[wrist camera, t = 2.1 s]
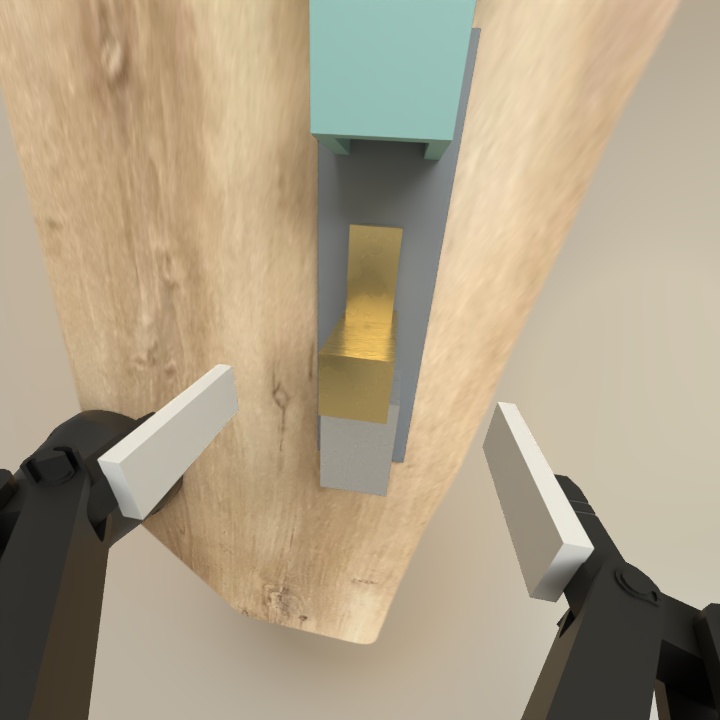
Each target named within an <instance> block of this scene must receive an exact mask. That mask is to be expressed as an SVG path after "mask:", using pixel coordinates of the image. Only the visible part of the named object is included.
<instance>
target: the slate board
mask: <svg viewBox="0 0 720 720" xmlns="http://www.w3.org/2000/svg"><path fill="white" fill-rule="evenodd" d="M480 31H481V28H471V34H470V40H469V46H468V52H467V58H466V64H465V70H464V75H463V81H462V87H461V93H460V99H459V105H458V111H457V117H456V123H455V129H454V135H453V140H452V142H451V143H450V145H449V146H448V148H447V149H446V151H445V153H444V154H443V156H442V157H441V159H440V160H430V159H424V153H425V146H426V143H422V142H403V141H384V140H364V139H350V155H343V154H334V153H333V152H332V151H330V150H329V149H328V148H327V147H326V146H325V145H324V144H322V143H321V142H320V141H319V140H318V355H319V352H320V350H321V348H322V347H323V345H324V344H325V342H326V340H327V339H328V337H329V335H330V334H331V332H332V331H333V329H334V327H335V326H336V324H337V322H338V321H339V319H340V317H341V316H342V314H343V313H344V311H345V309H346V297H347V276H348V254H349V232H350V225H351V224H356V223H359V224H372V225H385V226H398V227H403V231H402V239H401V248H400V256H399V264H398V272H397V281H396V289H395V297H394V306H393V311H398V318H397V335H396V351H395V365H394V371H397V372H400V408H399V415H398V421H397V428H396V434H395V440H394V447H393V453H392V460H391V461H395V462H402V463H403V460H404V455H405V449H406V443H407V438H408V432H409V427H410V421H411V416H412V410H413V404H414V399H415V393H416V388H417V382H418V377H419V371H420V365H421V360H422V354H423V349H424V343H425V338H426V332H427V326H428V321H429V315H430V310H431V304H432V299H433V293H434V287H435V282H436V276H437V271H438V265H439V260H440V254H441V248H442V243H443V237H444V232H445V226H446V221H447V215H448V209H449V204H450V198H451V193H452V187H453V182H454V176H455V170H456V165H457V159H458V154H459V148H460V143H461V137H462V132H463V126H464V120H465V115H466V109H467V104H468V98H469V93H470V87H471V81H472V76H473V70H474V65H475V59H476V54H477V48H478V42H479V37H480ZM320 430H321V415H318V450H320Z"/></svg>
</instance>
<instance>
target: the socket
mask: <svg viewBox="0 0 720 720" xmlns="http://www.w3.org/2000/svg"><path fill="white" fill-rule="evenodd" d="M475 4H476V0H309V11H310V133H311V134H312V135H313V136H314V137H316V138H317V139H318V140H319V141H320V142H321V143H322V144H324V145H325V146H326V147H327V148H328V149H329V150H330V151H332V152H333V153H334V154H343V155H350V139H364V140H384V141H403V142H422V143H426V146H425V153H424V159H430V160H440V159H441V157H442V156H443V154H444V153H445V151H446V149H447V148H448V146H449V145H450V143H451V142H452V140H453V135H454V129H455V123H456V117H457V111H458V105H459V99H460V93H461V87H462V81H463V75H464V70H465V64H466V58H467V52H468V46H469V40H470V34H471V28H472V22H473V16H474V10H475Z"/></svg>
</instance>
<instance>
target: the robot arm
mask: <svg viewBox="0 0 720 720" xmlns="http://www.w3.org/2000/svg"><path fill="white" fill-rule="evenodd" d="M238 410H239V407H238V401H237V394H236V387H235V381H234V374H233V367H232V366H229V365H222V364H218V365H216V366H215V367H214V368H213V369H211V370H210V371H209V372H208V373H206V374H205V375H204V376H202V377H201V378H200V379H199V380H197V381H196V382H195V383H194V384H192V385H191V386H190V387H189V388H187V389H186V390H185V391H183V392H182V393H181V394H180V395H178V396H177V397H176V398H175V399H173V400H172V401H171V402H169V403H168V404H167V405H166V406H164V407H163V408H162V409H161V410H159V411H158V412H157V413H156V412H152V413H150V414H147V415H145V416H143V417H141V418H139V419H137V420H136V421H135V420H133V419H130V418H128V417H126V416H123V415H120V414H117V413H113V412H109V411H102V410H90V411H85V412H81V413H79V414H77V415H75V416H74V417H72V418H70V419H69V420H67V421H66V422H64V423H62V424H61V425H59V426H58V427H57V428H55V429H54V430H53V432H52V433H51V434H50V435H49V437H48V438H47V440H46V441H45V442H44V443H43V444H42V445H41V446H40V447H39V448H38V449H37V450H36V451H35V452H34V453H33V454H32V455H31V456H30V457H28V458H27V459H25V460H24V461H23V463H22V464H21V465H20V468H19V470H18V471H17V472H16V473H15V474H14V475H12V473H11V472H10V471H9V470H6V469H0V720H88V715H89V706H90V698H91V690H92V682H93V674H94V665H95V657H96V649H97V641H98V633H99V625H100V617H101V608H102V600H103V592H104V584H105V576H106V567H107V559H108V551H109V548H110V547H111V546H112V545H113V544H114V543H115V542H117V541H118V540H119V539H121V538H122V537H123V536H125V535H126V534H127V533H129V532H130V531H131V530H133V529H134V528H135V527H137V526H138V525H139V524H141V523H142V522H143V521H144V520H146V519H147V518H148V517H149V516H151V515H153V514H156V513H157V512H159V511H160V510H162V509H163V508H164V507H165V506H166V505H167V504H168V503H169V502H170V500H171V499H172V498H173V497H174V495H175V494H176V493H177V492H178V491H179V489H180V487H181V484H182V474H183V473H184V472H185V471H186V470H187V469H188V468H189V466H190V465H191V464H192V463H193V462H194V461H195V460H196V458H197V457H198V456H199V455H200V454H201V453H202V451H203V450H204V449H205V448H206V447H207V446H208V445H209V443H210V442H211V441H212V440H213V439H214V438H215V437H216V435H217V434H218V433H219V432H220V431H221V430H222V428H223V427H224V426H225V425H226V424H227V423H228V422H229V420H230V419H231V418H232V417H233V416H234V415H235V414H236V412H237V411H238ZM483 449H484V452H485V456H486V459H487V462H488V465H489V468H490V471H491V475H492V478H493V481H494V484H495V487H496V490H497V494H498V497H499V500H500V504H501V507H502V510H503V513H504V515H505V519H506V523H507V526H508V529H509V532H510V535H511V538H512V542H513V545H514V548H515V551H516V555H517V558H518V561H519V564H520V567H521V570H522V574H523V577H524V580H525V583H526V586H527V590H528V593H529V596H530V597H531V598H536V599H541V600H546V601H551V602H557V600H558V599H559V598H560V596H561V595H562V593H563V592H564V594H565V596H566V599H567V601H568V604H569V606H570V608H569V609H568V610H567V611H566V613H565V614H564V615H563V617H562V618H561V619H560V621H559V622H558V623H557V625H558V626H559V627H560V628H559V630H558V632H557V635H556V638H555V640H554V642H553V644H552V647H551V649H550V652H549V654H548V656H547V659H546V661H545V664H544V666H543V668H542V671H541V673H540V675H539V678H538V680H537V683H536V685H535V687H534V690H533V692H532V694H531V697H530V700H529V702H528V704H527V707H526V709H525V711H524V714H523V716H522V719H521V720H649V718H650V712H651V705H652V698H653V692H654V690H655V697H656V704H657V710H658V718H659V720H720V604H715V603H711V604H709V605H708V606H707V607H705V608H704V609H703V610H702V611H701V610H698V609H696V608H694V607H692V606H689V605H687V604H685V603H683V602H681V601H679V600H676V599H674V598H672V597H670V596H667V595H665V594H663V593H662V592H660V590H659V588H658V587H657V586H656V585H655V584H654V583H653V581H652V580H651V579H650V578H649V577H648V576H646V575H645V574H644V573H643V572H642V571H640V570H639V569H638V568H636V567H634V566H632V565H631V564H629V563H627V562H625V560H624V559H623V557H622V556H621V554H620V552H619V551H618V549H617V548H616V546H615V544H614V543H613V541H612V540H611V538H610V536H609V535H608V533H607V531H606V530H605V528H604V527H603V525H602V523H601V522H600V520H599V518H598V517H597V516H595V512H594V510H593V509H592V507H591V506H590V505H589V504H588V501H587V499H586V497H585V496H584V494H583V493H582V491H581V490H580V488H579V487H578V486H577V485H576V484H574V483H573V482H572V481H571V480H570V479H569V478H568V477H567V476H562V475H555V474H553V473H552V471H551V469H550V467H549V465H548V463H547V462H546V460H545V458H544V456H543V454H542V453H541V451H540V449H539V447H538V445H537V443H536V442H535V440H534V438H533V437H532V434H531V433H530V431H529V429H528V427H527V425H526V424H525V422H524V420H523V418H522V416H521V414H520V413H519V411H518V409H517V408H516V405H515V404H510V403H503V402H497V405H496V408H495V411H494V414H493V417H492V420H491V423H490V426H489V429H488V432H487V435H486V438H485V441H484V444H483Z"/></svg>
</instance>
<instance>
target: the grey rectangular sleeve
mask: <svg viewBox="0 0 720 720" xmlns="http://www.w3.org/2000/svg"><path fill="white" fill-rule="evenodd" d="M399 408H400V372H397V371H394V372H393V380H392V387H391V395H390V402H389V409H388V417H387V424H381V423H374V422H366V421H359V420H352V419H345V418H337V417H330V416H323V415H321V430H320V486H322V487H329V488H335V489H341V490H348V491H354V492H360V493H366V494H373V495H379V496H385V497H386V492H387V486H388V479H389V473H390V466H391V460H392V453H393V447H394V440H395V434H396V428H397V421H398V415H399Z"/></svg>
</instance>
